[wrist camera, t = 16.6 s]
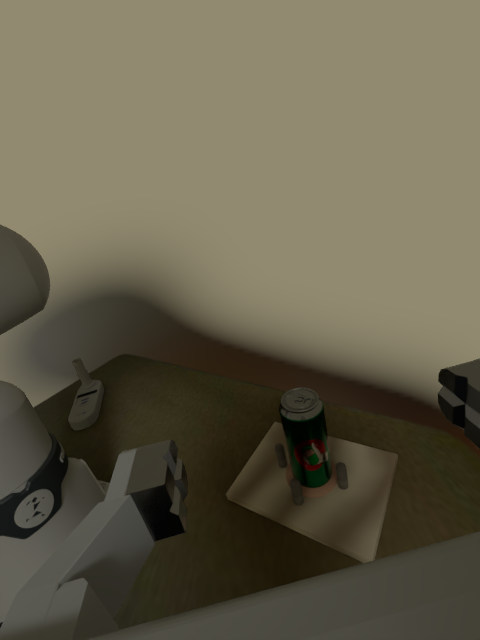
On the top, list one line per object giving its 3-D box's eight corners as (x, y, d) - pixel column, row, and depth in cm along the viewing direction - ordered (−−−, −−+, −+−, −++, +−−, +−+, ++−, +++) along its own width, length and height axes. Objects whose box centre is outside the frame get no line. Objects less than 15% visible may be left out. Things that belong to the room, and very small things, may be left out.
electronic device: (47, 396, 58) (66, 358, 72) (70, 436, 63) (84, 393, 76) (77, 387, 59) (90, 351, 73) (97, 426, 63) (106, 385, 77)
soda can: (302, 453, 44) (289, 382, 40) (338, 465, 41) (328, 389, 37) (286, 482, 41) (269, 407, 36) (324, 497, 38) (311, 418, 33)
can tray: (227, 499, 42) (219, 474, 40) (275, 426, 52) (270, 404, 50) (372, 567, 31) (370, 537, 30) (397, 459, 42) (396, 433, 40)
